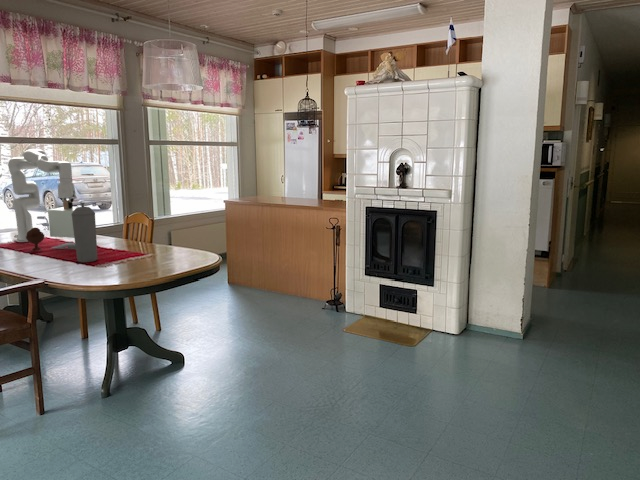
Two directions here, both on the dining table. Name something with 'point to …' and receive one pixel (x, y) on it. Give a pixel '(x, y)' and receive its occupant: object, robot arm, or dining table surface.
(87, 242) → the canister
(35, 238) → the ice cream bowl
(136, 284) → the dining table surface
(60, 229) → the cover
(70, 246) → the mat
